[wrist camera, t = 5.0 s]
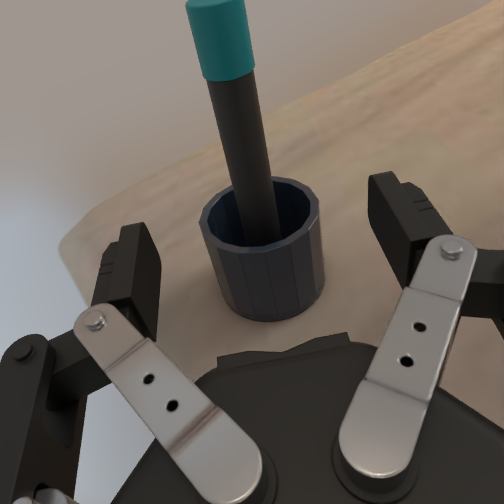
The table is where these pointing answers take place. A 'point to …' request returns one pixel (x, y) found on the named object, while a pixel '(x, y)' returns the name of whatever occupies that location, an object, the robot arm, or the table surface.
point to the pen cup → (267, 254)
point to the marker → (237, 111)
